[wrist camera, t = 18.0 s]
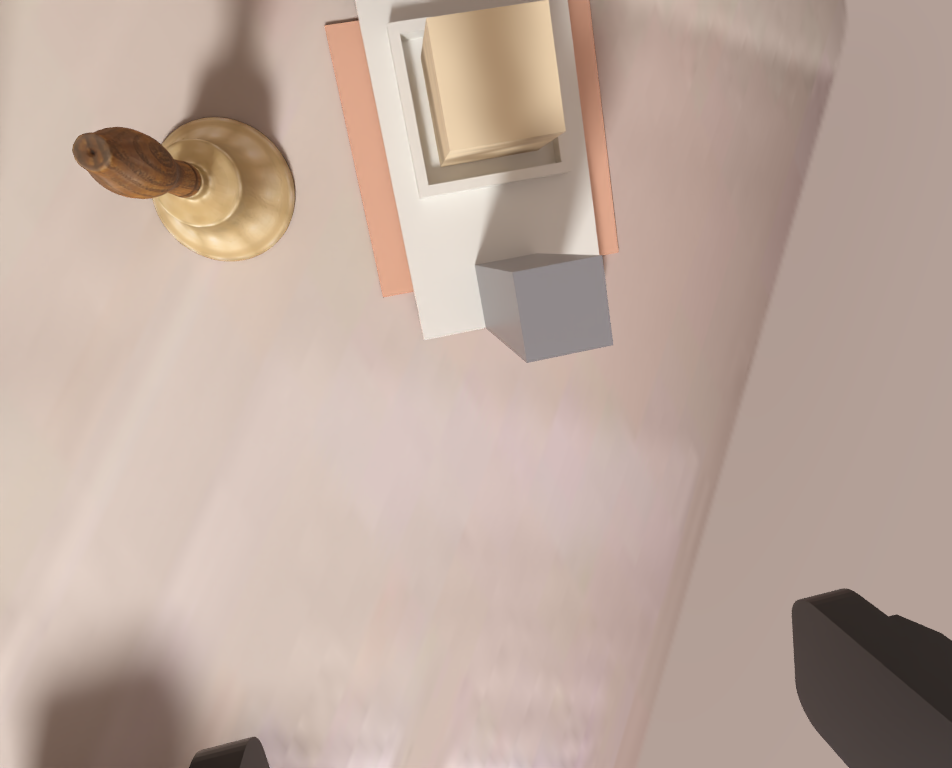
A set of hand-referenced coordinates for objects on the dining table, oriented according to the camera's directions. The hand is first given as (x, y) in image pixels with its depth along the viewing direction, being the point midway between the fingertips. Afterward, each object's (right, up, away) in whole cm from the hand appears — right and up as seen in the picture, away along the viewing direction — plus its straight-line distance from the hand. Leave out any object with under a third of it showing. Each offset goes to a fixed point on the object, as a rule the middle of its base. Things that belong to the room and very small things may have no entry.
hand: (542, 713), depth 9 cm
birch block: (-1, +21, +26) cm, 34 cm away
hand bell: (-16, +17, +27) cm, 36 cm away
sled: (0, +19, +28) cm, 34 cm away
